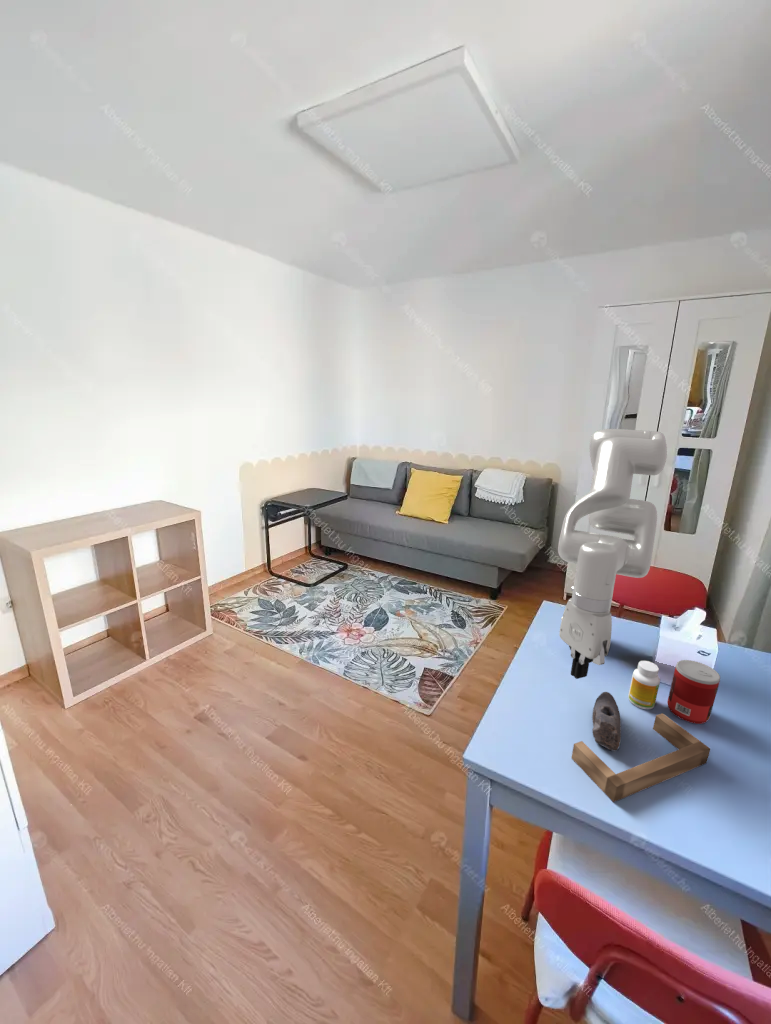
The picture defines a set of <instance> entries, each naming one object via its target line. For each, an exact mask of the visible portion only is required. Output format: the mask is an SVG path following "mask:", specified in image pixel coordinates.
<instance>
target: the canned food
mask: <svg viewBox="0 0 771 1024" xmlns="http://www.w3.org/2000/svg"><path fill="white" fill-rule="evenodd" d="M720 682H721V675H720V674H719V673H718V671H716V670H715V669H714V668H712V667H711V666H708V665H707V664H704V663H702V662H698V661H695V660H689V659H684V660H683V659H681V660H679V661H677V663H676V665H675V668H674V672H673V675H672V679H671V686H670V688H669V694H668V698H667V707H668V710H669V711H670V712H671V713H672V714H673V715H675V716H676V717H677V718H678V719H681V720H683V721H685V722H686V723H687V722H688V723H691V724H697V725H698V724H699V725H700V724H705V723H707V722H708V721H709V720H710V718H711V714H712V711H713V707H714V704H715V700H716V696H717V694H718V690H719V687H720Z"/></svg>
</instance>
